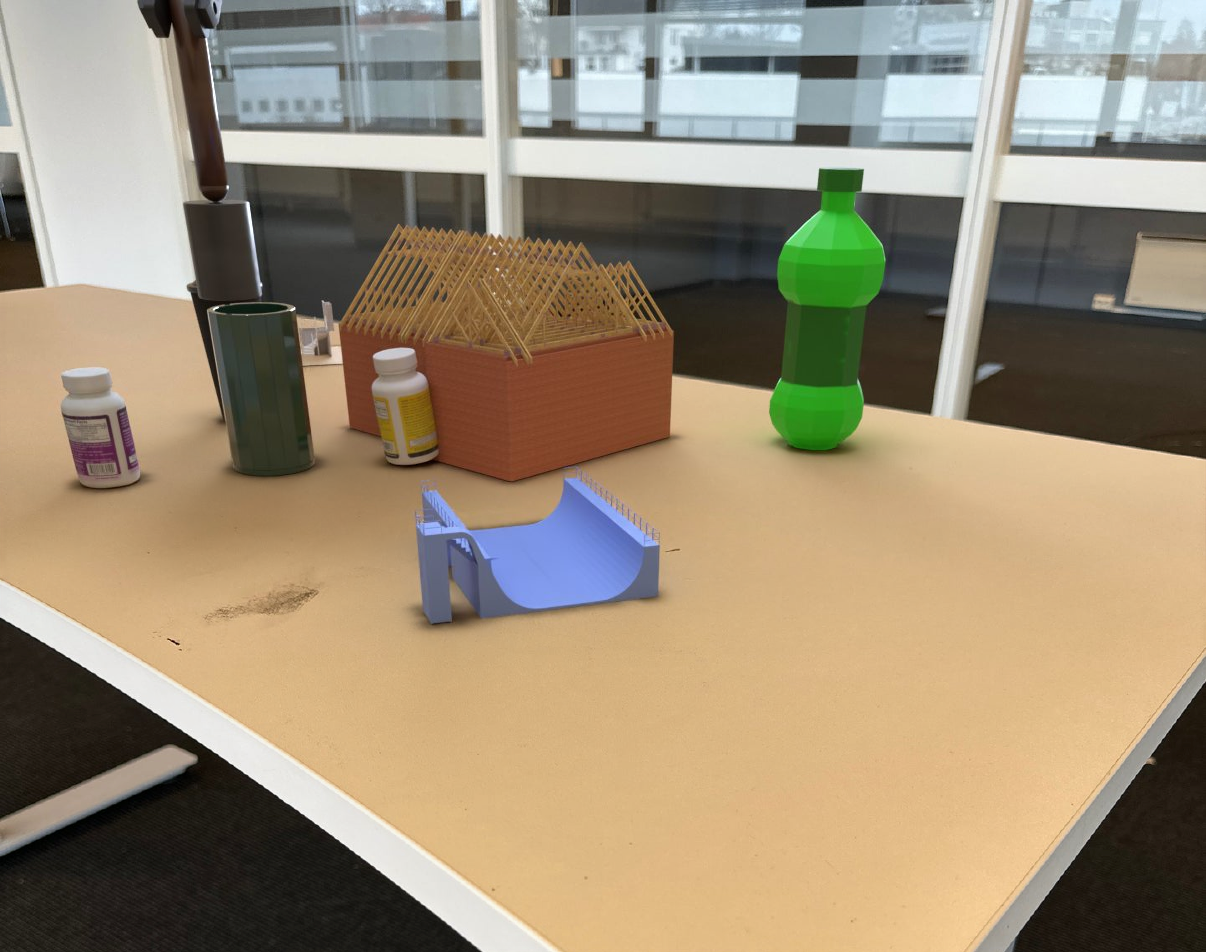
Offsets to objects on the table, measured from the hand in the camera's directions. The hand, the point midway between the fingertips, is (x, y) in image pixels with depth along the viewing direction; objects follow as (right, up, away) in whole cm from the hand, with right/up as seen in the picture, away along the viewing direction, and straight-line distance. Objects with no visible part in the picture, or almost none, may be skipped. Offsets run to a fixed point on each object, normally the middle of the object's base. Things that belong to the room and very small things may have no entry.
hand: (176, 25), depth 70 cm
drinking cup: (-13, -6, +54) cm, 56 cm away
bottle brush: (0, -12, +10) cm, 16 cm away
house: (+16, -10, +49) cm, 52 cm away
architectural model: (-14, +11, +81) cm, 83 cm away
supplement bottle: (+8, -15, +40) cm, 43 cm away
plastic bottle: (+49, -12, +46) cm, 68 cm away
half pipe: (+20, -31, +15) cm, 40 cm away
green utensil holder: (-5, -16, +38) cm, 41 cm away
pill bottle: (-19, -19, +33) cm, 42 cm away
